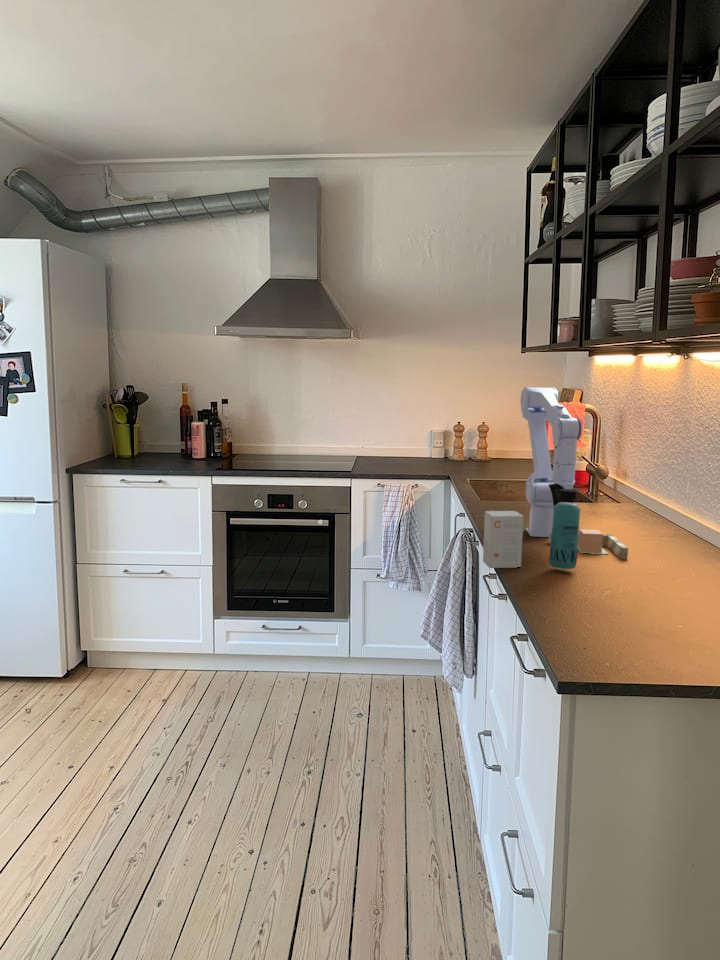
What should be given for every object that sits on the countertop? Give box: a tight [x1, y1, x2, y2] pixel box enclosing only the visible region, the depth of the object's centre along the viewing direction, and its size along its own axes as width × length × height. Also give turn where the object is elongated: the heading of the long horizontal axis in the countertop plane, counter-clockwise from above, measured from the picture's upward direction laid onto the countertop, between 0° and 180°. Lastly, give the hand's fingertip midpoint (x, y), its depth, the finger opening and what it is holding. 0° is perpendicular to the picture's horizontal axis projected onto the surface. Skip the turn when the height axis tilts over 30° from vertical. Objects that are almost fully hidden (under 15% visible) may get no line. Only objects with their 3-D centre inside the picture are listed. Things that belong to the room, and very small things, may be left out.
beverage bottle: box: [548, 489, 581, 570], centre depth 171 cm, size 6×7×20 cm
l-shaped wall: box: [548, 532, 629, 560], centre depth 192 cm, size 15×17×3 cm
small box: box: [482, 510, 525, 569], centre depth 176 cm, size 8×6×13 cm
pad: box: [577, 547, 609, 555], centre depth 192 cm, size 7×7×1 cm
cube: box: [578, 528, 604, 553], centre depth 192 cm, size 5×5×5 cm
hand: (561, 513), depth 194 cm, fingers open, 7 cm apart
